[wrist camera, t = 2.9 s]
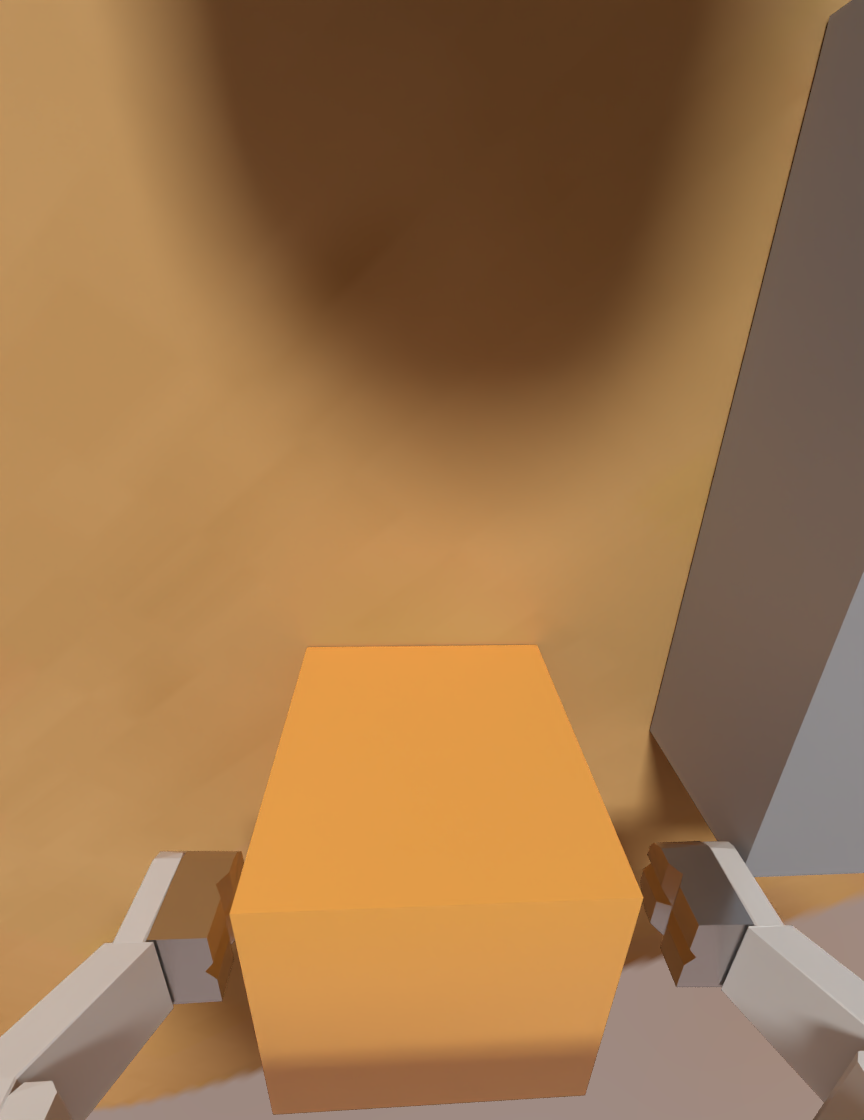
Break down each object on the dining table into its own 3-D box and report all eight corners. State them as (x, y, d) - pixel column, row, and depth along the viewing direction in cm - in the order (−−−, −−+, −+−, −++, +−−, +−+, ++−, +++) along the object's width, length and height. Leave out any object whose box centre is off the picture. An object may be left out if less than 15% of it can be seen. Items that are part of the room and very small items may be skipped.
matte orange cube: (321, 813, 14) (272, 1115, 9) (306, 647, 12) (230, 913, 7) (516, 807, 15) (585, 1095, 9) (536, 644, 12) (643, 897, 7)
